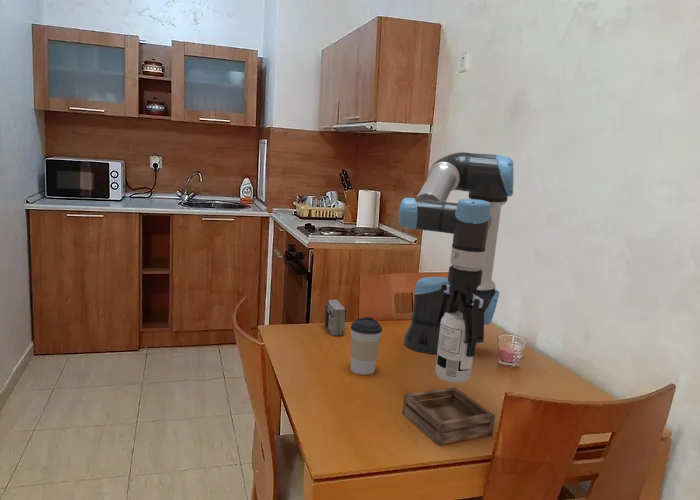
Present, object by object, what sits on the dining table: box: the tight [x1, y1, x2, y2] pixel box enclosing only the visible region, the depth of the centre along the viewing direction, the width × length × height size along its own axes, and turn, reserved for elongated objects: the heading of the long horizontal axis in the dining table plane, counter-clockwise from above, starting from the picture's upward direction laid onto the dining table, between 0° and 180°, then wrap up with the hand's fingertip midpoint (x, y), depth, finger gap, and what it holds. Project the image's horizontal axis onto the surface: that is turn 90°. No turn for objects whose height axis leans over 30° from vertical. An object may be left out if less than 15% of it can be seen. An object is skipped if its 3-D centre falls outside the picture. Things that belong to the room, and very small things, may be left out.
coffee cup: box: [349, 316, 383, 376], centre depth 161 cm, size 9×9×15 cm
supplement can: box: [434, 311, 472, 383], centre depth 131 cm, size 8×8×15 cm
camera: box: [324, 299, 347, 337], centre depth 193 cm, size 11×6×10 cm, turn 14°
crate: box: [401, 387, 496, 446], centre depth 134 cm, size 15×15×5 cm
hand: (454, 361), depth 132 cm, fingers closed on supplement can, 8 cm apart
